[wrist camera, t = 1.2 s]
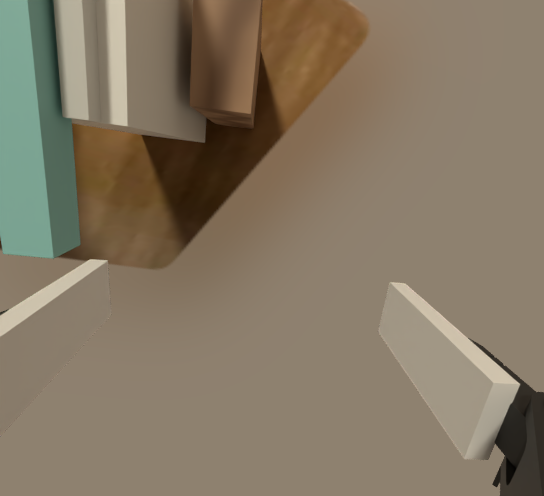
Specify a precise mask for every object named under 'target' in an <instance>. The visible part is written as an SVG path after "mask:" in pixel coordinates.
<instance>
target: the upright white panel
mask: <svg viewBox="0 0 544 496" xmlns="http://www.w3.org/2000/svg"><path fill="white" fill-rule="evenodd" d="M53 2H54V15H55V28H56V40H57V53H58V65H59V78H60V90H61V103H62V115H63V117H65V118H71V119H72V123H74V124H80V125H86V126H92V127H98V128H104V129H110V130H116V131H122V132H128V133H134V134H140V135H147V136H155V137H163V138H171V139H179V140H187V141H194V142H202V143H205V135H206V117H205V116H203V115H202V114H201V113H199V112H198V111H196V110H195V109H194V108H192V107H191V106H189V105H190V77H191V49H192V21H193V0H53Z"/></svg>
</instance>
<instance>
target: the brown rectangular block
mask: <svg viewBox="0 0 544 496" xmlns="http://www.w3.org/2000/svg"><path fill="white" fill-rule="evenodd" d="M261 29H262V0H193V21H192V49H191V77H190V105H189V106H191V107H192V108H194V109H195V110H196V111H198V112H199V113H201V114H202V115H203V116H205V117H206V118H208V119H209V120H211V121H212V122H213V123H215V124H218V125H226V126H233V127H241V128H248V129H253V128H254V118H255V107H256V97H257V86H258V76H259V65H260V55H261Z"/></svg>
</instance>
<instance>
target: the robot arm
mask: <svg viewBox="0 0 544 496" xmlns="http://www.w3.org/2000/svg"><path fill="white" fill-rule="evenodd" d="M108 271H109V270H108V261H107V260H94V259H90V260H88V261H87V262H85V263H83V264H82V265H80V266H79V267H77V268H75V269H74V270H72V271H71V272H69V273H67V274H66V275H64V276H63V277H61V278H60V279H58V280H56V281H55V282H53V283H51V284H50V285H48V286H47V287H45V288H43V289H42V290H40V291H39V292H37V293H35V294H34V295H32V296H31V297H29V298H27V299H26V300H24V301H23V302H21V303H19V304H18V305H16V306H15V307H13V308H11V309H10V310H6V311H3V312H0V436H1V435H2V434H3V433H4V432H5V431H6V430H7V429H8V428H9V427H10V425H11V424H12V423H13V422H14V421H15V420H16V419H17V418H18V417H19V416H20V415H21V413H22V412H23V411H24V410H25V409H26V408H27V407H28V406H29V405H30V404H31V402H32V401H33V400H34V399H35V398H36V397H37V396H38V395H39V394H40V393H41V392H42V390H43V389H44V388H45V387H46V386H47V385H48V384H49V383H50V382H51V381H52V379H53V378H54V377H55V376H56V375H57V374H58V373H59V372H60V371H61V370H62V368H63V367H64V366H65V365H66V364H67V363H68V362H69V361H70V360H71V359H72V357H73V356H74V355H75V354H76V353H77V352H78V351H79V350H80V349H81V348H82V347H83V345H84V344H85V343H86V342H87V341H88V340H89V339H90V338H91V337H92V336H93V334H94V333H95V332H96V331H97V330H98V329H99V328H100V327H101V326H102V325H103V323H104V322H105V321H106V320H107V319H108V318H109V317H110V316H111V301H110V285H109V272H108ZM378 333H379V334H380V336H381V337H382V338H383V340H384V341H385V343H386V344H387V346H388V347H389V349H390V350H391V352H392V353H393V355H394V356H395V358H396V359H397V361H398V362H399V364H400V365H401V367H402V368H403V370H404V371H405V372H406V374H407V375H408V377H409V378H410V380H411V381H412V383H413V384H414V386H415V387H416V389H417V390H418V391H419V393H420V395H421V396H422V398H423V399H424V401H425V402H426V403H427V405H428V406H429V408H430V409H431V411H432V412H433V414H434V415H435V417H436V418H437V420H438V421H439V423H440V424H441V426H442V427H443V429H444V430H445V432H446V433H447V435H448V436H449V438H450V439H451V441H452V442H453V443H454V445H455V446H456V448H457V449H458V451H459V452H460V454H461V455H462V457H463V458H464V459H481V460H488V459H489V457H490V454H491V452H492V450H493V447H494V445H495V444H496V445H497V446H498V448H499V449H500V450H501V451H502V452H503V454H504V455H505V457H504V459H503V462H502V464H501V466H500V468H499V471H498V473H497V475H496V477H495V480H494V482H493V485H494V486H495V487H497V486H498V484H499V483H500V496H544V393H543V392H536V391H534V390H533V389H532V388H531V387H530V386H529V385H527V384H526V383H525V382H524V381H523V380H521V379H520V378H519V377H518V376H517V375H516V374H514V373H513V372H512V371H511V370H510V369H509V368H507V367H506V366H504V365H503V363H502V362H500V361H499V360H498V359H497V358H494V356H493V355H492V354H491V353H490V352H489V351H488V350H486V349H485V348H484V347H483V346H481V345H479V344H478V343H476V342H474V341H473V340H471V339H469V338H467V337H465V336H464V335H463V334H462V333H461V332H460V331H459V330H458V329H457V328H455V327H454V326H453V325H452V324H450V322H448V321H447V320H446V319H445V318H444V317H443V316H442V315H440V314H439V313H438V312H437V311H436V310H435V309H434V308H432V307H431V306H430V305H429V304H428V303H427V302H426V301H425V300H423V299H422V298H421V297H420V296H419V295H418V294H417V293H415V292H414V291H413V290H412V289H411V288H410V287H408V286H407V285H406V284H405V283H393V282H390V283H389V288H388V292H387V296H386V301H385V305H384V309H383V313H382V318H381V322H380V326H379V330H378Z"/></svg>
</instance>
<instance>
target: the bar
mask: <svg viewBox="0 0 544 496" xmlns="http://www.w3.org/2000/svg"><path fill="white" fill-rule="evenodd" d="M0 237H1V244H2V250H3V254H11V255H20V256H31V257H43V258H53V259H54V258H56V257H58V256H60V255H62V254H64V253H66V252H67V251H69V250H71V249H73V248H75V247H77V246H79V245H81V244H80V230H79V217H78V203H77V189H76V175H75V161H74V147H73V133H72V119H71V118H65V117H63V115H62V103H61V90H60V78H59V65H58V53H57V40H56V28H55V15H54V2H53V0H0Z"/></svg>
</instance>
